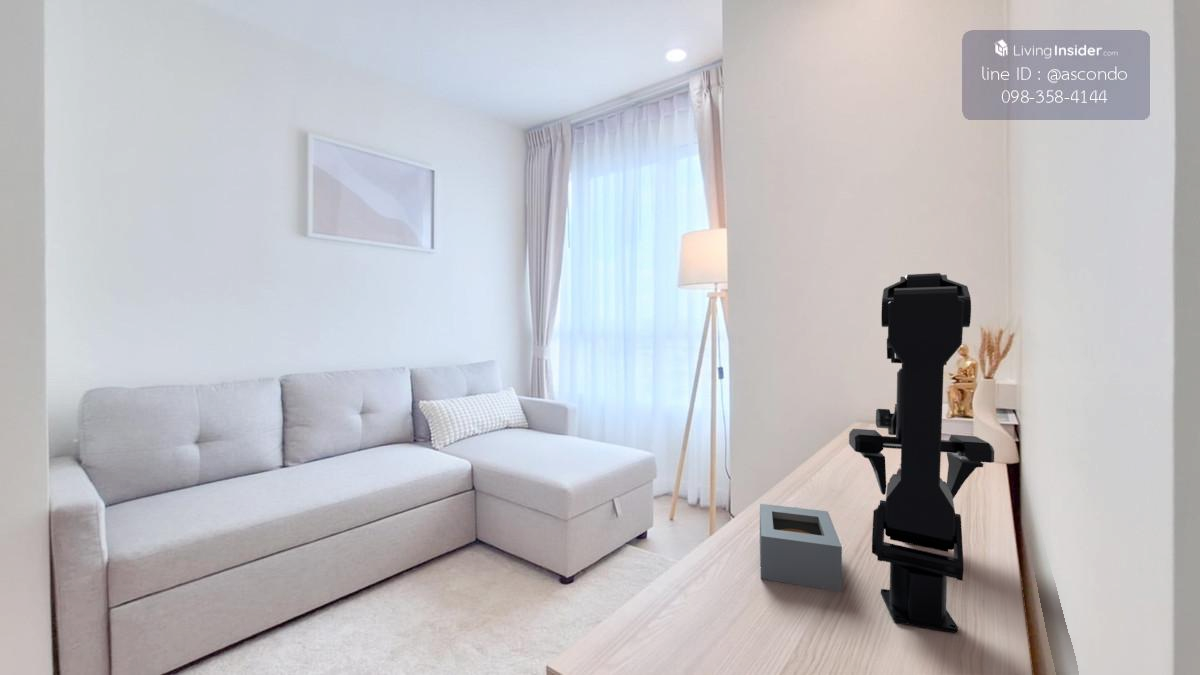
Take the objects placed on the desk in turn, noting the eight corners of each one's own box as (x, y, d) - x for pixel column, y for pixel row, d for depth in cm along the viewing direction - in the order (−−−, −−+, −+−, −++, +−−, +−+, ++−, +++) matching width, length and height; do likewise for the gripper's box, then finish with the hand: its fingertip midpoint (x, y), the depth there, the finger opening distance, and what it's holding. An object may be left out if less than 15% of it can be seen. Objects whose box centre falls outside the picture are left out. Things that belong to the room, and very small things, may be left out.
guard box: (841, 591, 61) (841, 546, 61) (760, 578, 64) (761, 535, 64) (827, 549, 73) (827, 511, 72) (759, 539, 76) (760, 503, 76)
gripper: (965, 396, 80) (962, 486, 80) (843, 391, 86) (842, 475, 86) (997, 408, 69) (994, 511, 70) (856, 401, 75) (854, 497, 76)
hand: (915, 497), depth 76 cm, fingers open, 9 cm apart
